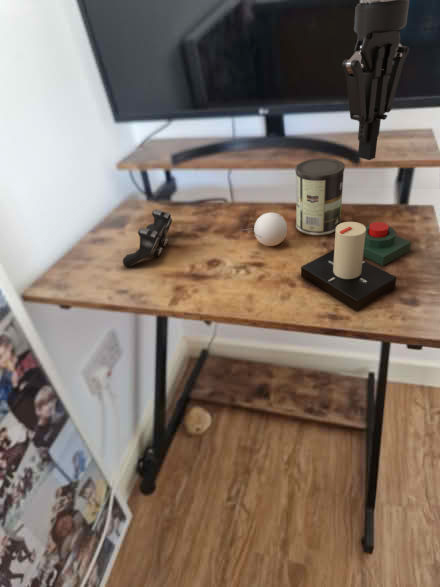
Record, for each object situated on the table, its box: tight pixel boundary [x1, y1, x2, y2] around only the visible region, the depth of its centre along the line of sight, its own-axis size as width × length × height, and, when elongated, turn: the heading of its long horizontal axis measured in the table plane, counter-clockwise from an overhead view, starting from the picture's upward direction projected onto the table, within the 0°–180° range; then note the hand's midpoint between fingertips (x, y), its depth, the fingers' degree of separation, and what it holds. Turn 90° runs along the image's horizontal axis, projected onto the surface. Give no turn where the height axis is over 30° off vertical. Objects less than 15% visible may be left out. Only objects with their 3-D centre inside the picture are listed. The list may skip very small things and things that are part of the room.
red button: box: [369, 221, 390, 238], centre depth 81 cm, size 4×4×2 cm
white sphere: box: [242, 212, 288, 247], centre depth 89 cm, size 10×7×7 cm
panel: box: [300, 249, 398, 312], centre depth 75 cm, size 14×10×3 cm
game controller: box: [122, 209, 173, 268], centre depth 92 cm, size 16×7×10 cm, turn 167°
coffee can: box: [294, 157, 346, 236], centre depth 91 cm, size 10×10×14 cm
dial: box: [333, 221, 366, 279], centre depth 72 cm, size 5×5×9 cm
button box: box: [363, 224, 412, 267], centre depth 83 cm, size 10×8×4 cm
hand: (366, 157), depth 74 cm, fingers closed
